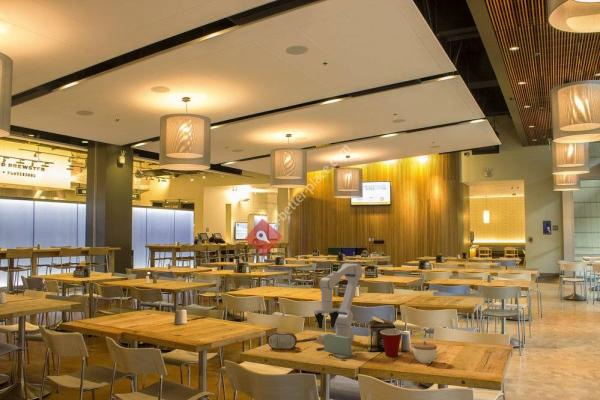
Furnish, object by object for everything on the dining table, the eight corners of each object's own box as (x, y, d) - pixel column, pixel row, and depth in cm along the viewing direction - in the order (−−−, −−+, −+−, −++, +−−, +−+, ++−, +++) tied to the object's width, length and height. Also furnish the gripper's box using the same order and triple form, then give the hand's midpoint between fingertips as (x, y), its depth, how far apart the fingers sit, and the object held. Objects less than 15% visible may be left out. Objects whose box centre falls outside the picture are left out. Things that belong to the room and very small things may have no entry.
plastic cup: (375, 356, 247) (375, 330, 248) (388, 352, 255) (387, 328, 256) (394, 359, 240) (394, 333, 241) (407, 356, 248) (406, 330, 249)
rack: (320, 340, 282) (320, 337, 283) (345, 348, 264) (345, 344, 264) (292, 344, 273) (292, 340, 273) (317, 352, 254) (317, 348, 254)
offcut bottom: (323, 341, 277) (323, 337, 277) (337, 345, 267) (337, 341, 267) (316, 342, 275) (316, 338, 275) (329, 346, 265) (329, 342, 265)
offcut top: (324, 337, 276) (324, 334, 276) (336, 340, 268) (336, 336, 268) (318, 338, 273) (318, 334, 274) (331, 341, 266) (331, 337, 266)
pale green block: (328, 350, 256) (328, 333, 257) (351, 354, 247) (351, 337, 248) (324, 351, 253) (324, 334, 254) (347, 355, 245) (347, 338, 245)
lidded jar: (411, 359, 241) (410, 338, 242) (434, 359, 241) (433, 339, 242) (415, 364, 231) (415, 343, 231) (439, 365, 230) (439, 343, 231)
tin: (297, 348, 263) (297, 332, 263) (296, 350, 259) (296, 333, 260) (268, 348, 264) (268, 331, 265) (267, 349, 261) (267, 332, 262)
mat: (335, 350, 260) (335, 348, 260) (356, 356, 245) (356, 355, 245) (320, 352, 255) (320, 350, 255) (341, 359, 240) (341, 357, 241)
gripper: (333, 299, 274) (333, 325, 273) (311, 300, 266) (310, 327, 265) (341, 300, 268) (341, 327, 267) (318, 302, 260) (318, 329, 259)
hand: (326, 327), depth 265 cm, fingers open, 7 cm apart
